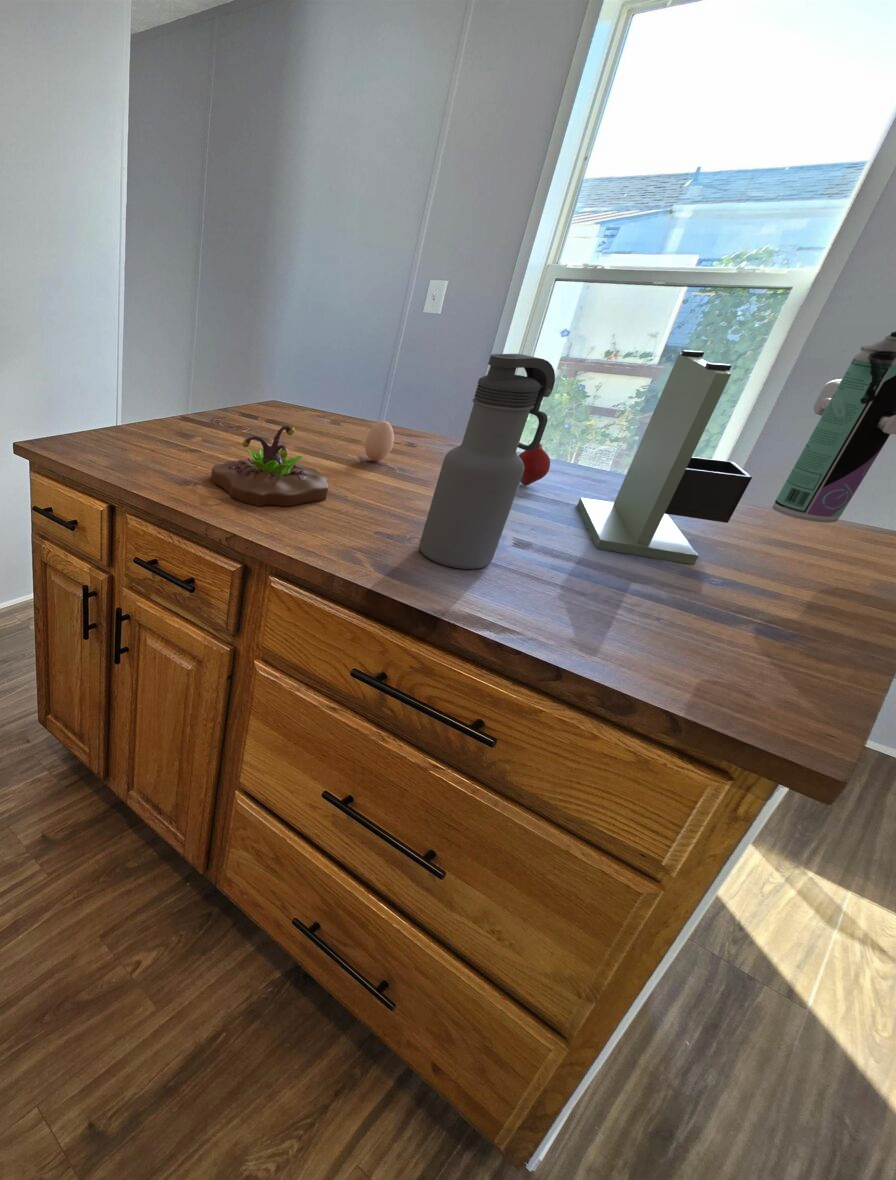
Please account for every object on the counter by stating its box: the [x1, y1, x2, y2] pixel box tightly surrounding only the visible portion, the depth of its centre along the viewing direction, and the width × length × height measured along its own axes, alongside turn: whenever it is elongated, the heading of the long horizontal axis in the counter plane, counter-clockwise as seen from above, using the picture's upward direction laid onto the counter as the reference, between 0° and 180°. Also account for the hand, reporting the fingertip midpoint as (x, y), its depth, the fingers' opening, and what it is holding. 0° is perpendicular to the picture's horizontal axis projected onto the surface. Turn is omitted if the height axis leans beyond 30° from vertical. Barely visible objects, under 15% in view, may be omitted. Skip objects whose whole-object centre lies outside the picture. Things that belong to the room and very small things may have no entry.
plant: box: [210, 424, 329, 507], centre depth 118 cm, size 20×20×11 cm
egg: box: [364, 420, 395, 462], centre depth 133 cm, size 5×5×8 cm
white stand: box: [576, 349, 753, 566], centre depth 98 cm, size 16×20×27 cm
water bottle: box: [418, 353, 556, 570], centre depth 89 cm, size 10×10×28 cm
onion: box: [518, 443, 551, 486], centre depth 122 cm, size 6×6×8 cm
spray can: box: [771, 330, 896, 524], centre depth 69 cm, size 6×6×20 cm
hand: (851, 415), depth 69 cm, fingers closed on spray can, 5 cm apart
